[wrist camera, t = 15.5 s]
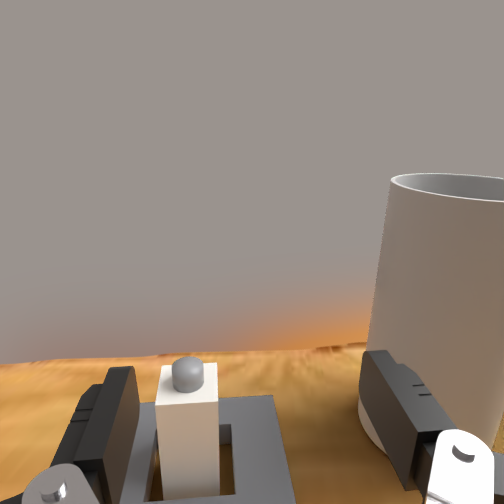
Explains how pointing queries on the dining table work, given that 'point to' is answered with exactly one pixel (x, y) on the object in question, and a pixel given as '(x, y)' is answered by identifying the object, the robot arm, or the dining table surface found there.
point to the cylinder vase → (444, 294)
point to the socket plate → (243, 455)
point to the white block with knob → (188, 429)
